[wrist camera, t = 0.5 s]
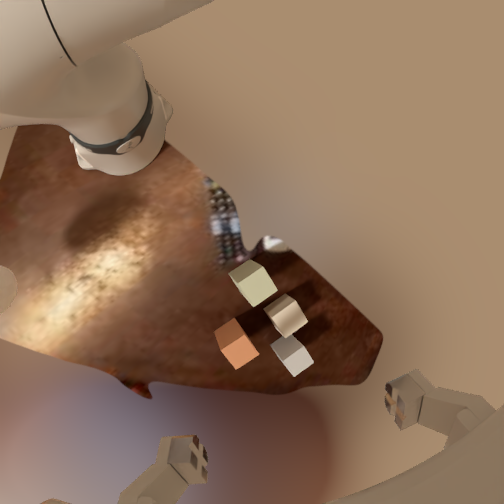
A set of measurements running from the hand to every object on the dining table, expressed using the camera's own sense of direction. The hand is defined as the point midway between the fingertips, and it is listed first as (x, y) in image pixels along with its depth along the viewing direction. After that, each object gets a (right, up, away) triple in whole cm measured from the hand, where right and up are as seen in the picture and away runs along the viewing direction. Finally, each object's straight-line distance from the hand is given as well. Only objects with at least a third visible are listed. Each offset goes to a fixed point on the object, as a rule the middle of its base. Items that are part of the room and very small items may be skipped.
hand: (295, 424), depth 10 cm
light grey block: (+5, -12, +43) cm, 45 cm away
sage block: (-3, +3, +40) cm, 40 cm away
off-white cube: (+4, -4, +42) cm, 43 cm away
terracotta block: (-6, -8, +40) cm, 41 cm away
